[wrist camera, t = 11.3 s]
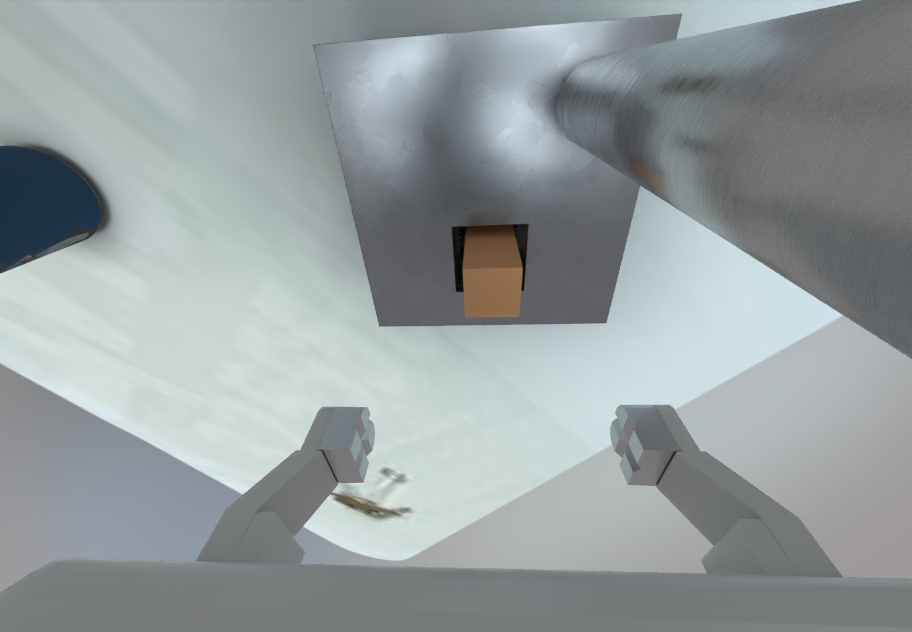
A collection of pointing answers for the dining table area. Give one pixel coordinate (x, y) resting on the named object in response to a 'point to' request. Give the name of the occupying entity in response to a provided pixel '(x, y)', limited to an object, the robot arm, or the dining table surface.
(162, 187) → the dining table surface
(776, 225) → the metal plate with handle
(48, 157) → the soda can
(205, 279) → the dining table surface
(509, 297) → the orange brown rectangular block
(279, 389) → the dining table surface
